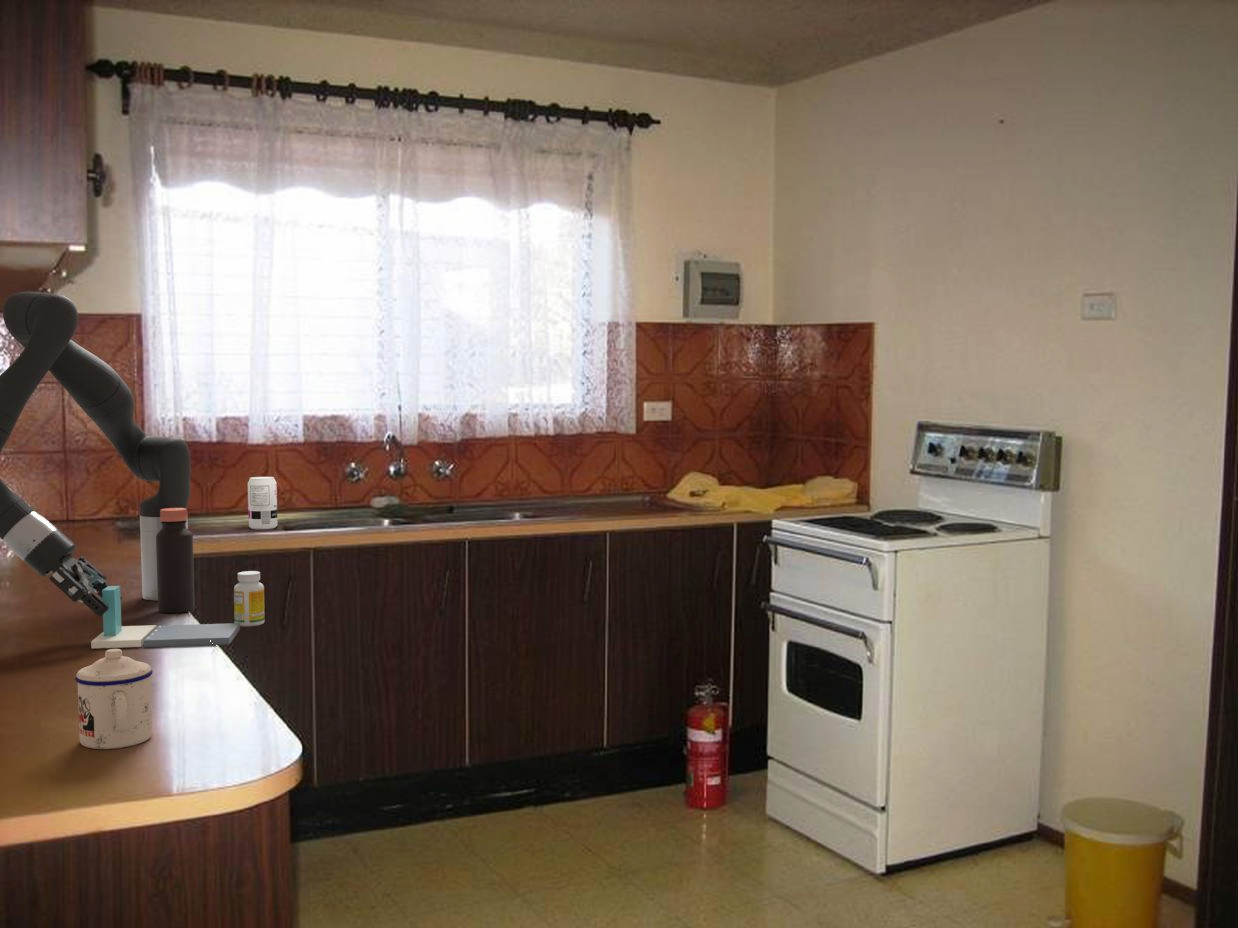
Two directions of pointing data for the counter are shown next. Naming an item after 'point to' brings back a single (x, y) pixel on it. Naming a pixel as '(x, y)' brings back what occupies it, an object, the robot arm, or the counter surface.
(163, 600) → the vinegar
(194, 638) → the board
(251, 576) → the supplement bottle
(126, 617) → the counter surface
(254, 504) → the supplement can
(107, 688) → the teacup with lid
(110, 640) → the teal block on base
